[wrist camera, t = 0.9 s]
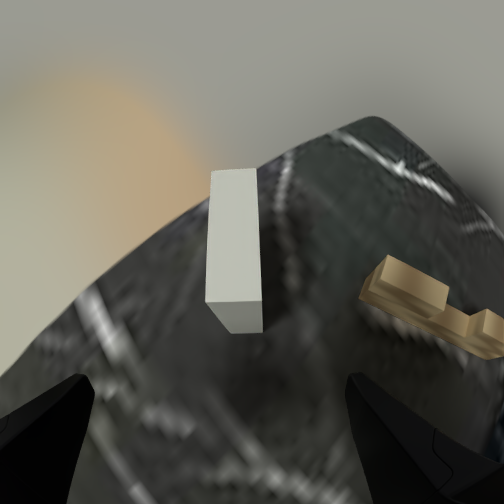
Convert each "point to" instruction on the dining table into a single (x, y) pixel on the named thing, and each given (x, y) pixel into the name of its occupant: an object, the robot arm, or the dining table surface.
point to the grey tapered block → (234, 251)
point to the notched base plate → (432, 308)
